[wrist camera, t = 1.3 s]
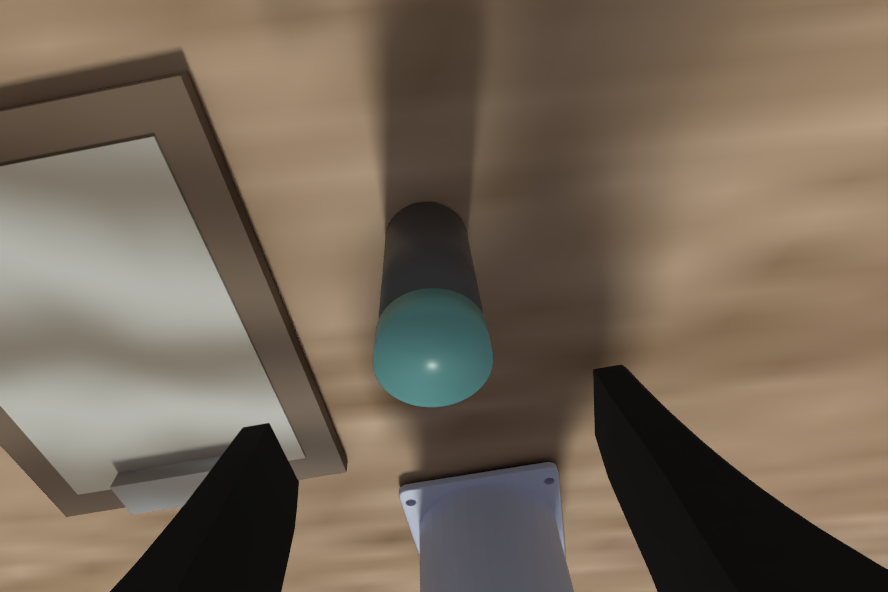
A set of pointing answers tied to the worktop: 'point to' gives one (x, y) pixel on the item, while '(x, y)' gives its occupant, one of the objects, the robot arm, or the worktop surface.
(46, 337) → the clipboard
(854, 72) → the worktop surface
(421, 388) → the marker
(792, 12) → the worktop surface
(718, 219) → the worktop surface
